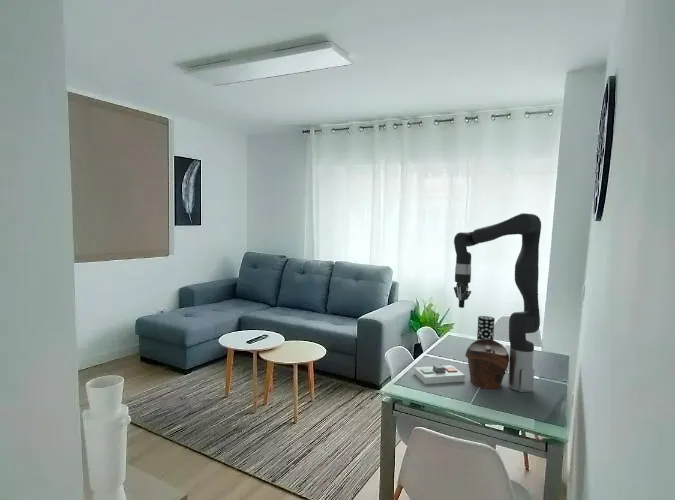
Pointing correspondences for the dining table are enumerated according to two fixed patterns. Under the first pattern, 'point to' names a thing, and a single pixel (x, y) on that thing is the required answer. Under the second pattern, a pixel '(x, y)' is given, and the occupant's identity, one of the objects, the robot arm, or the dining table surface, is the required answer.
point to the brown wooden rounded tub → (487, 363)
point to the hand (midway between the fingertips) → (461, 307)
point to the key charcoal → (438, 368)
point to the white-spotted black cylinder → (485, 328)
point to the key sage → (426, 371)
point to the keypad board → (439, 375)
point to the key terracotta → (450, 369)
